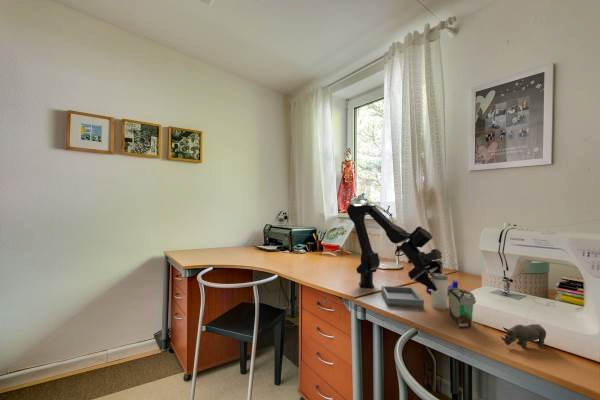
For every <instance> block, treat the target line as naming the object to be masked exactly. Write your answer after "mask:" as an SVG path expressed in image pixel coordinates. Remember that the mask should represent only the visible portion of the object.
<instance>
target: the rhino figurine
mask: <svg viewBox="0 0 600 400" xmlns="http://www.w3.org/2000/svg"><path fill="white" fill-rule="evenodd" d="M502 329H504V331H506V334H504V337H503V336H502V335H501V336H500V339H501V340H502V341H504V344H505V345H506V346H509V345H511V344H513V343H516V344H517V345H519V346H520V348H521V349H522V350H528V347H527V346H528V344H527V343H528V341H529V342H531V341H532V342H534V343H535V344H537V347H538V349H545V345H544V344H545V340H546V336H547V331H546V329H545V328H544V327H543V326H542V325H541V324H539V323H536V324H534V323H533V324H528V325H523V324H517V325H514V326H512V327H510V328H506V327H504V326H502ZM538 339H539V341H537V340H538ZM517 340H518V341H517Z"/></svg>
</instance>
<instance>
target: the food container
mask: <svg viewBox="0 0 600 400" xmlns="http://www.w3.org/2000/svg"><path fill="white" fill-rule="evenodd" d="M448 293H449V295H448V316H449V319H450V320H451V321H452V322H453V323H454V324H455V325H456V327H457V328H458V329H459V330H461V329H462V330H463V329H465V330H466V329H470V328H471V327H472V320H473V311H474V310H473V309H474V305H476V303H477V301H476V297H475V294H474V293H473V292H471V291H469V290H466V289H463V288H459V287H458V288H453V287H449V289H448Z"/></svg>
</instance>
